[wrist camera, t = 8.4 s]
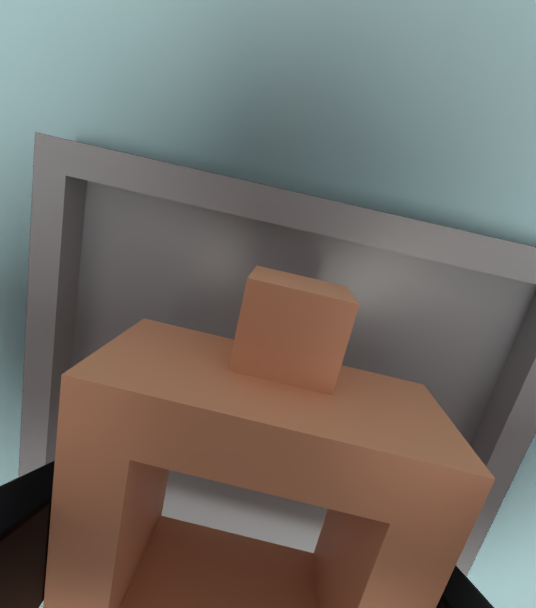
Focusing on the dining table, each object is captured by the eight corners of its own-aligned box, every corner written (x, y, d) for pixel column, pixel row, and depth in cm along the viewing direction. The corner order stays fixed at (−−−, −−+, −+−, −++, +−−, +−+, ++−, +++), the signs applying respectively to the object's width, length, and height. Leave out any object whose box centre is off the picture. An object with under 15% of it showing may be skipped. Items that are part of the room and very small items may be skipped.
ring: (345, 597, 10) (366, 758, 7) (113, 539, 10) (38, 674, 7) (451, 310, 8) (546, 368, 5) (154, 241, 8) (70, 257, 5)
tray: (405, 623, 13) (419, 675, 11) (45, 532, 13) (13, 572, 12) (566, 257, 9) (615, 265, 8) (74, 144, 10) (35, 132, 8)
